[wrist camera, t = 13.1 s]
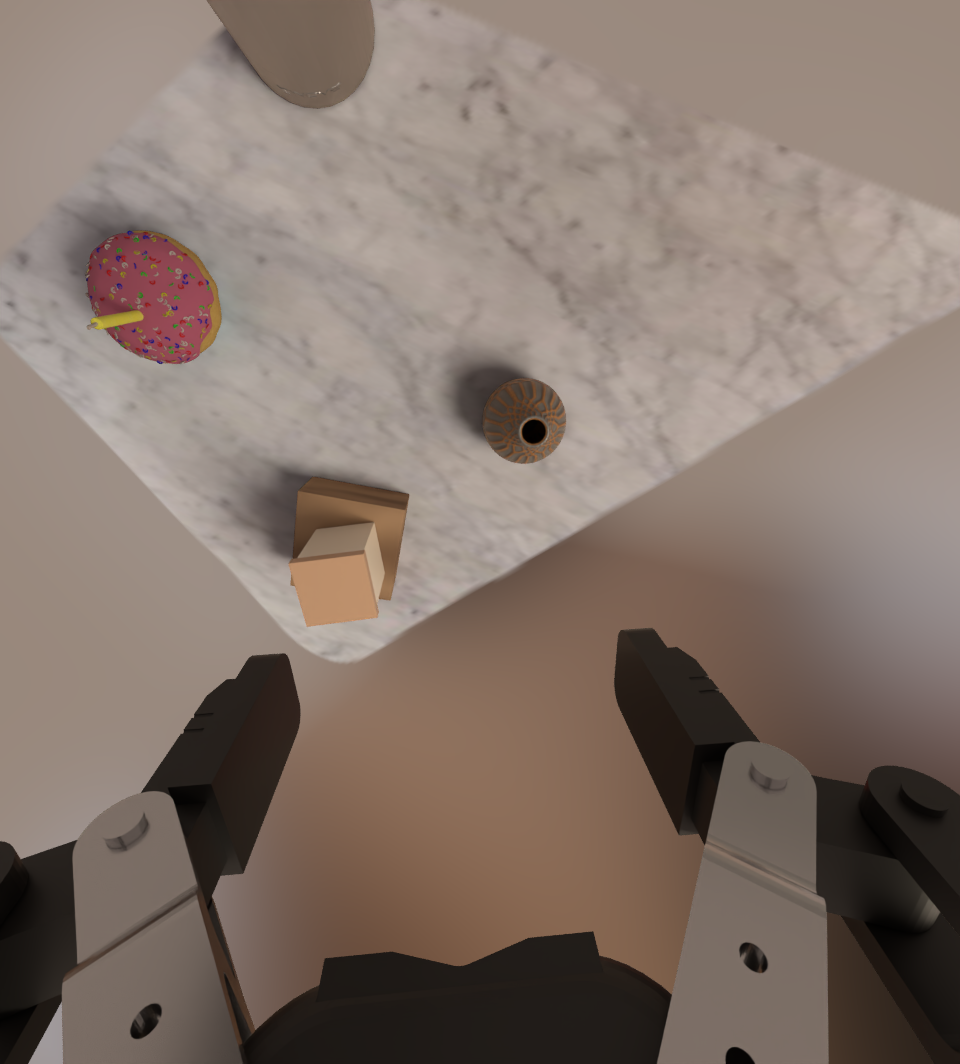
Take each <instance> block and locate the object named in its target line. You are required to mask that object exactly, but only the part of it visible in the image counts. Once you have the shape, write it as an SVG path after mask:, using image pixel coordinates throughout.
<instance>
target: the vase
mask: <svg viewBox="0 0 960 1064" xmlns="http://www.w3.org/2000/svg"><path fill="white" fill-rule="evenodd" d="M482 424H483V431H484V434H485V437H486V440H487V442H488V443H489V445H490V446H491V448H492V449H493V450H494V451H495V452H496V453H497V454H498V455H499V456H501V457H502V458H504V459H506V460H508V461H511V462H514V463H521V464H526V463H533V462H537V461H539V460H542V459H544V458H545V457H547V456H548V455H550V454H551V453H552V452H553V451H554V450H555V449H556V448H557V446H558V445H559V443H560V442H561V440H562V437H563V435H564V432H565V427H566V414H565V409H564V406H563V403H562V401H561V399H560V398H559V396H558V395H557V393H556V392H555V391H554V390H553V389H552V388H551V387H549V386H548V385H546V384H545V383H543V382H541V381H538V380H535V379H530V378H519V379H514V380H511V381H508V382H506V383H504V384H502V385H501V386H499V387H498V388H497V389H496V390H495V391H494V392H493V393H492V394H491V396H490V397H489V399H488V401H487V403H486V405H485V408H484V412H483V419H482Z"/></svg>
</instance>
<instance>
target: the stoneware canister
mask: <svg viewBox="0 0 960 1064" xmlns="http://www.w3.org/2000/svg"><path fill="white" fill-rule="evenodd" d="M289 567H290V571H291V574H292V577H293V581H294V584H295V588H296V591H297V595H298V598H299V601H300V605H301V608H302V612H303V615H304V618H305V622H306V625H307V627H308V626H316V625H324V624H332V623H339V622H347V621H355V620H362V619H370V618H377V617H378V613H379V611H378V606H377V603H378V599H379V595H380V591H381V587H382V583H383V579H384V575H385V571H384V567H383V562H382V557H381V552H380V547H379V542H378V537H377V533H376V528H375V523H374V522H371V523H363V524H355V525H347V526H339V527H330V528H322V529H316V531H315V532H314V534H313V535H312V537H311V538H310V540H309V541H308V543H307V544H306V546H305V547H304V549H303V550H302V552H301V553H300V555H299V556H298V558H295V559H291V561H290V562H289Z"/></svg>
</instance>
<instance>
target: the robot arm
mask: <svg viewBox="0 0 960 1064" xmlns="http://www.w3.org/2000/svg"><path fill="white" fill-rule="evenodd" d="M207 2H208V3H209V4H210V6H211V7H212V9H213V10H214V12H215V13H216V14H217V16H218V17H219V19H220V20H221V22H222V23H223V25H224V26H225V27H226V29H227V30H228V32H229V33H230V35H231V36H232V38H233V39H234V41H235V42H236V43H237V45H238V46H239V48H240V49H241V51H242V52H243V53H244V55H245V56H246V58H247V59H248V61H249V62H250V63H251V65H252V66H253V68H254V69H255V70H256V72H257V73H258V74H259V76H260V77H261V78H262V80H263V81H264V82H265V83H266V84H267V85H268V86H269V87H270V88H271V89H272V90H273V91H274V92H275V93H276V94H278V95H279V96H281V97H283V98H284V99H286V100H287V101H289V102H291V103H294V104H296V105H299V106H302V107H307V108H317V109H319V108H325V107H331V106H333V105H335V104H337V103H340V102H342V101H344V100H345V99H346V98H347V97H349V96H350V95H351V94H352V93H353V92H354V91H355V90H356V89H357V87H358V86H359V85H360V83H361V82H362V81H363V79H364V77H365V75H366V72H367V70H368V68H369V65H370V62H371V57H372V53H373V49H374V33H375V28H374V19H373V10H372V6H371V2H370V0H207ZM614 687H615V695H616V699H617V703H618V706H619V708H620V711H621V713H622V715H623V717H624V719H625V721H626V723H627V726H628V728H629V730H630V732H631V734H632V736H633V738H634V740H635V743H636V745H637V747H638V749H639V751H640V753H641V755H642V758H643V759H644V762H645V764H646V766H647V768H648V770H649V773H650V775H651V776H652V779H653V781H654V783H655V785H656V787H657V790H658V792H659V794H660V796H661V798H662V800H663V802H664V804H665V807H666V809H667V811H668V813H669V815H670V817H671V819H672V822H673V824H674V826H675V828H676V830H677V832H678V834H679V835H690V834H699V835H700V837H701V839H702V841H703V843H704V845H705V848H704V852H703V857H702V861H701V866H700V870H699V876H698V880H697V885H696V889H695V893H694V898H693V902H692V907H691V912H690V916H689V920H688V925H687V930H686V934H685V939H684V943H683V948H682V952H681V957H680V962H679V966H678V970H677V975H676V980H675V984H674V989H673V993H672V994H670V993H669V992H668V991H667V990H666V989H664V988H663V987H662V986H661V985H660V984H658V983H657V982H655V981H654V980H652V979H651V978H649V977H648V976H646V975H645V974H644V973H642V972H640V971H638V970H636V969H634V968H632V967H630V966H629V965H627V964H624V963H621V962H619V961H616V960H613V959H611V958H607V957H603V956H599V953H598V949H597V945H596V941H595V937H594V933H593V932H583V933H574V934H564V935H553V936H544V937H534V938H527V939H525V940H523V941H521V942H518V943H516V944H514V945H511V946H509V947H507V948H505V949H502V950H500V951H498V952H495V953H493V954H491V955H489V956H486V957H484V958H482V959H479V960H477V961H475V962H472V963H470V964H468V965H465V966H452V965H448V964H444V963H439V962H435V961H430V960H426V959H422V958H417V957H413V956H409V955H404V954H399V953H395V952H386V953H385V952H384V953H376V954H365V955H354V956H345V957H334V958H326V959H325V961H324V966H323V970H322V975H321V980H320V985H319V986H316V987H314V988H312V989H310V990H308V991H306V992H305V993H303V994H301V995H300V996H298V997H296V998H294V999H293V1000H292V1001H290V1002H289V1003H287V1004H286V1005H285V1006H283V1007H282V1008H280V1009H279V1010H278V1011H276V1012H275V1013H274V1014H273V1015H272V1016H271V1017H270V1018H269V1019H267V1020H266V1021H265V1022H264V1023H263V1024H262V1025H261V1026H260V1027H259V1028H257V1029H256V1030H255V1027H254V1024H253V1021H252V1018H251V1015H250V1013H249V1010H248V1008H247V1004H246V1002H245V999H244V996H243V993H242V990H241V986H240V983H239V980H238V977H237V974H236V970H235V967H234V964H233V960H232V957H231V954H230V950H229V948H228V944H227V941H226V937H225V934H224V931H223V928H222V924H221V921H220V918H219V915H218V911H217V908H216V905H215V902H214V899H213V897H212V894H213V892H214V890H215V887H216V885H217V882H218V880H219V878H220V876H222V875H233V874H243V873H244V870H245V868H246V865H247V863H248V860H249V857H250V855H251V852H252V850H253V847H254V844H255V842H256V839H257V837H258V834H259V831H260V829H261V826H262V824H263V821H264V818H265V816H266V813H267V811H268V808H269V805H270V803H271V800H272V797H273V795H274V792H275V790H276V787H277V785H278V782H279V779H280V777H281V774H282V771H283V769H284V766H285V764H286V761H287V758H288V756H289V753H290V751H291V748H292V746H293V743H294V740H295V737H296V735H297V732H298V729H299V724H300V703H299V699H298V695H297V690H296V686H295V682H294V678H293V673H292V669H291V665H290V661H289V658H288V656H287V655H286V654H269V655H256V656H251V657H250V658H249V659H248V660H247V661H246V663H245V665H244V666H243V668H242V669H241V671H240V673H239V674H238V676H237V678H236V679H227V680H225V681H224V682H223V683H222V684H221V685H219V686H218V687H217V688H216V689H215V690H213V691H212V692H211V693H210V694H209V695H207V696H206V698H205V699H204V701H203V702H202V704H201V705H200V707H199V708H198V710H197V711H196V712H195V714H194V718H191V720H190V721H189V723H188V724H187V726H186V727H185V729H184V733H183V734H181V735H180V736H179V737H178V739H177V740H176V742H175V743H174V745H173V747H172V748H171V749H170V751H169V752H168V754H167V755H166V757H165V758H164V760H163V761H162V762H161V764H160V765H159V767H158V768H157V770H156V771H155V773H154V774H153V776H152V777H151V779H150V780H149V782H148V783H147V785H146V786H145V788H144V789H143V790H142V792H141V793H140V794H136V795H133V796H131V797H128V798H126V799H124V800H121V801H120V802H118V803H116V804H114V805H113V806H111V807H110V808H108V809H107V810H105V811H104V812H103V813H101V814H100V815H99V816H98V817H97V818H96V819H94V820H93V821H92V822H91V823H90V824H89V825H88V827H87V828H86V829H85V830H84V831H83V833H82V834H81V835H80V837H79V838H78V840H75V841H73V842H70V843H67V844H64V845H61V846H58V847H55V848H53V849H50V850H46V851H44V852H41V853H38V854H35V855H32V856H29V857H26V858H23V859H20V857H19V856H18V854H17V853H16V851H15V849H14V848H13V847H12V846H11V845H10V844H8V843H6V842H1V841H0V1064H28V1063H29V1061H30V1059H31V1057H32V1055H33V1054H34V1052H35V1049H36V1048H37V1046H38V1044H39V1042H40V1041H41V1039H42V1037H43V1035H44V1033H45V1031H46V1030H47V1028H48V1026H49V1024H50V1022H51V1020H52V1018H53V1017H54V1015H55V1013H56V1011H57V1009H58V1007H59V1005H60V1004H61V1002H62V1027H63V1064H828V985H827V915H826V912H829V913H833V914H837V915H841V917H842V918H843V920H844V922H845V923H846V925H847V926H848V928H849V930H850V931H851V933H852V934H853V936H854V937H855V939H856V941H857V942H858V944H859V945H860V947H861V948H862V950H863V952H864V953H865V955H866V957H867V958H868V960H869V961H870V963H871V964H872V966H873V968H874V969H875V971H876V972H877V974H878V975H879V977H880V979H881V980H882V982H883V984H884V985H885V987H886V988H887V990H888V991H889V993H890V995H891V996H892V998H893V999H894V1001H895V1003H896V1004H897V1006H898V1007H899V1009H900V1011H901V1012H902V1014H903V1015H904V1017H905V1018H906V1020H907V1022H908V1023H909V1025H910V1026H911V1028H912V1030H913V1031H914V1033H915V1034H916V1036H917V1038H918V1039H919V1041H920V1042H921V1044H922V1045H923V1047H924V1049H925V1050H926V1052H927V1053H928V1055H929V1057H930V1058H931V1060H932V1061H933V1063H934V1064H960V795H958V794H957V793H956V792H954V791H953V790H951V789H950V788H949V787H947V786H946V785H944V784H943V783H941V782H939V781H937V780H936V779H934V778H932V777H930V776H927V775H925V774H923V773H920V772H918V771H915V770H912V769H908V768H904V767H898V766H881V767H877V768H875V769H873V770H872V771H871V772H870V773H869V776H868V778H867V781H866V783H865V785H859V784H854V783H848V782H843V781H838V780H832V779H827V778H822V777H817V776H813V775H811V774H810V773H809V772H808V770H807V769H806V768H805V767H804V766H803V765H802V764H801V763H800V762H799V761H798V760H796V759H795V758H794V757H792V756H791V755H789V754H788V753H786V752H784V751H782V750H780V749H778V748H776V747H774V746H771V745H768V744H764V743H760V741H759V740H758V739H757V737H756V736H755V735H754V734H753V732H752V731H751V730H750V729H749V727H748V726H747V725H746V723H745V722H744V721H743V720H742V718H741V717H740V716H739V714H738V713H737V712H736V711H735V709H734V708H733V707H732V705H731V704H730V703H729V702H728V700H727V699H726V698H725V696H724V695H723V694H722V693H719V689H718V688H717V686H716V685H715V684H714V682H713V681H712V680H711V679H709V677H708V675H707V673H706V672H705V671H704V670H703V668H702V667H701V666H700V665H699V663H698V662H697V661H696V660H695V659H694V658H692V657H691V656H689V655H688V654H686V653H685V652H683V651H682V650H681V649H679V648H678V647H673V648H667V646H666V645H665V644H664V643H663V641H662V640H661V638H660V637H659V635H658V634H657V633H656V631H655V630H654V629H652V628H643V629H629V630H621V631H620V632H619V635H618V642H617V654H616V666H615V678H614ZM940 912H941V913H940ZM944 917H945V918H944ZM948 922H949V923H948ZM952 927H953V928H954V929H953V928H952ZM957 933H958V934H957Z"/></svg>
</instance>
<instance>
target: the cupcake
mask: <svg viewBox="0 0 960 1064" xmlns="http://www.w3.org/2000/svg"><path fill="white" fill-rule="evenodd" d="M88 265H89V268H88V271H87V272H86V273H85V275H86V278H87V279H86V281H87V284H88V293H86V296H87V297H88V298H90V301H91V304H92V310H93V311H94V312H95V314H96V316H97V317H95V318H92V319H91V324H90V325H88V326H87V329H88V330H90V329H91V328H96V329H105V330H106V331H107V335H108V333H109V334H110V335H111V337H112V338H113V339H114V340H115V341H117V342H118V343H119V344H120V345H121V346H122V347H123V348H125V349H127V350H129V351H130V352H132V353H134V354H136V355H137V356H139V357H142V358H146V359H149V360H153V361H157V362H158V363H159V364H162V363H172V364H182V363H186V362H189V361H192V360H194V359H195V358H197V357H198V356H199V354H200V353H202V352H203V351H204V350H206V349H207V348H208V347H209V346H210V345H211V344H212V343H213V342H214V340H215V338H216V335H217V332H218V330H219V328H220V325H221V307H220V302H219V298H218V289H217V285H216V283H215V282H214V280H213V278H212V277H211V275H210V274H209V272H208V271H207V269H206V268H205V266H204V265H203V263H202V261H201V260H200V259H199V257H198V256H197V255H196V254H195V253H194V252H192V251H191V250H189V249H188V248H186V247H185V246H183V245H182V244H180V243H179V242H177V241H176V240H174V239H173V238H171V237H169V236H166V235H163V234H160V233H155V232H151V231H128V232H127V233H121V234H117V235H114V236H112V237H110V238H108V239H107V240H105V241H104V242H103V243H102V244H100V245H99V246H98V247H97V248H96V249H95V250H94V251H93V252H92V253H91V256H90V261H89V263H88V264H87V265H86V266H88ZM87 273H88V274H87ZM88 294H89V295H88ZM160 362H161V363H160Z"/></svg>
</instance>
